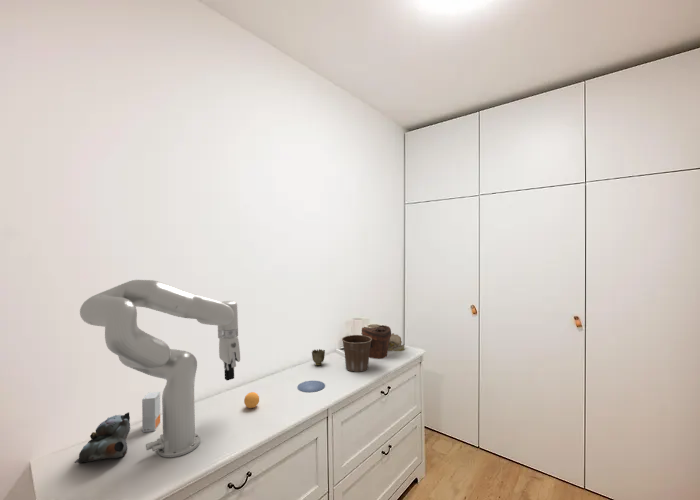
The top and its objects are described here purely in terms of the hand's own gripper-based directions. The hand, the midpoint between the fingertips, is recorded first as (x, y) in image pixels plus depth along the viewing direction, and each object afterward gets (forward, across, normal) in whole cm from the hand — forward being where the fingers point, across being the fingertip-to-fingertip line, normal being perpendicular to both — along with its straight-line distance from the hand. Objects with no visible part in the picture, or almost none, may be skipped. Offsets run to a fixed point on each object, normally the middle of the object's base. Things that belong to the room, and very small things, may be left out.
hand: (229, 378), depth 132 cm
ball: (+11, 0, -9) cm, 14 cm away
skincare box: (+14, +11, +25) cm, 31 cm away
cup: (+16, +21, -59) cm, 64 cm away
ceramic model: (+17, +11, -112) cm, 114 cm away
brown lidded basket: (+16, +10, -95) cm, 97 cm away
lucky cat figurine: (+14, +1, +40) cm, 43 cm away
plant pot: (+16, +2, -71) cm, 73 cm away
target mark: (+15, 0, -39) cm, 42 cm away
